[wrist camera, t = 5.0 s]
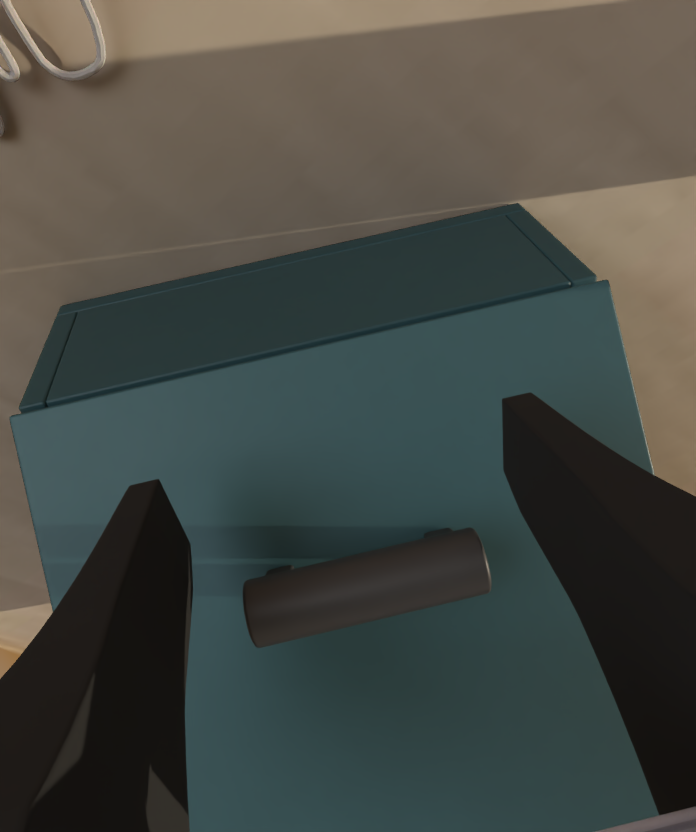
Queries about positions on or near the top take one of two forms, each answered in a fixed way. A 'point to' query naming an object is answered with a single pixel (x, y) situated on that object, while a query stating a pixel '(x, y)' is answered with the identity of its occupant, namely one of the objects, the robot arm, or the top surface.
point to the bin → (298, 303)
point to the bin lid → (369, 573)
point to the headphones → (35, 51)
